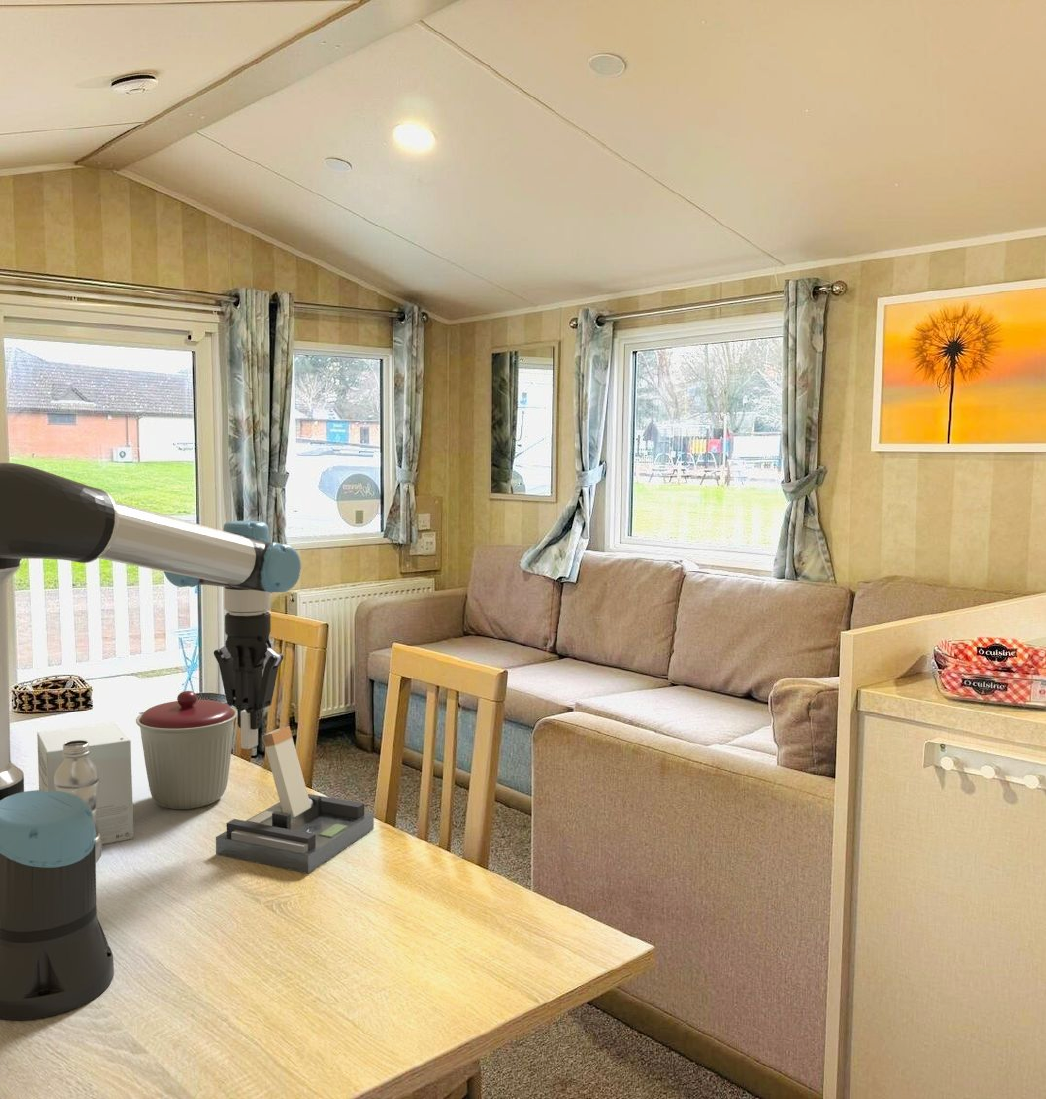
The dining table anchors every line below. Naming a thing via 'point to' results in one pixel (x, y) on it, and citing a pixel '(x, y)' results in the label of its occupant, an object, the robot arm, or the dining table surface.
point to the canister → (187, 750)
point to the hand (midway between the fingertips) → (249, 746)
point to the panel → (327, 828)
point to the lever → (287, 771)
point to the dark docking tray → (287, 837)
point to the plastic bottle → (80, 779)
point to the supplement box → (113, 768)
